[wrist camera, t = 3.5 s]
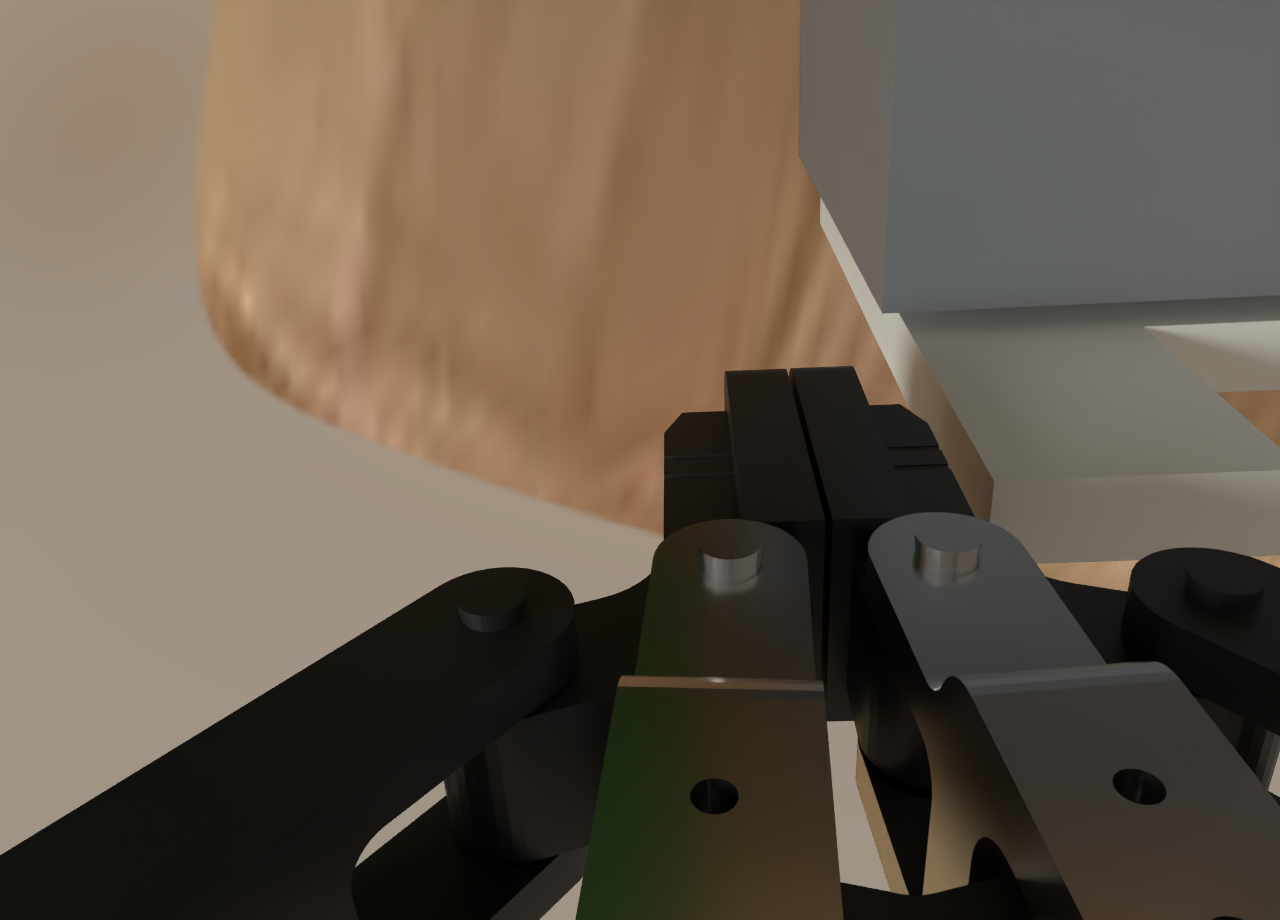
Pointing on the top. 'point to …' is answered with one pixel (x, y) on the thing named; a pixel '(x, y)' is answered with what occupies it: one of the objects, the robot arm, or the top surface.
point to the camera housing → (1046, 148)
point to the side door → (1096, 417)
